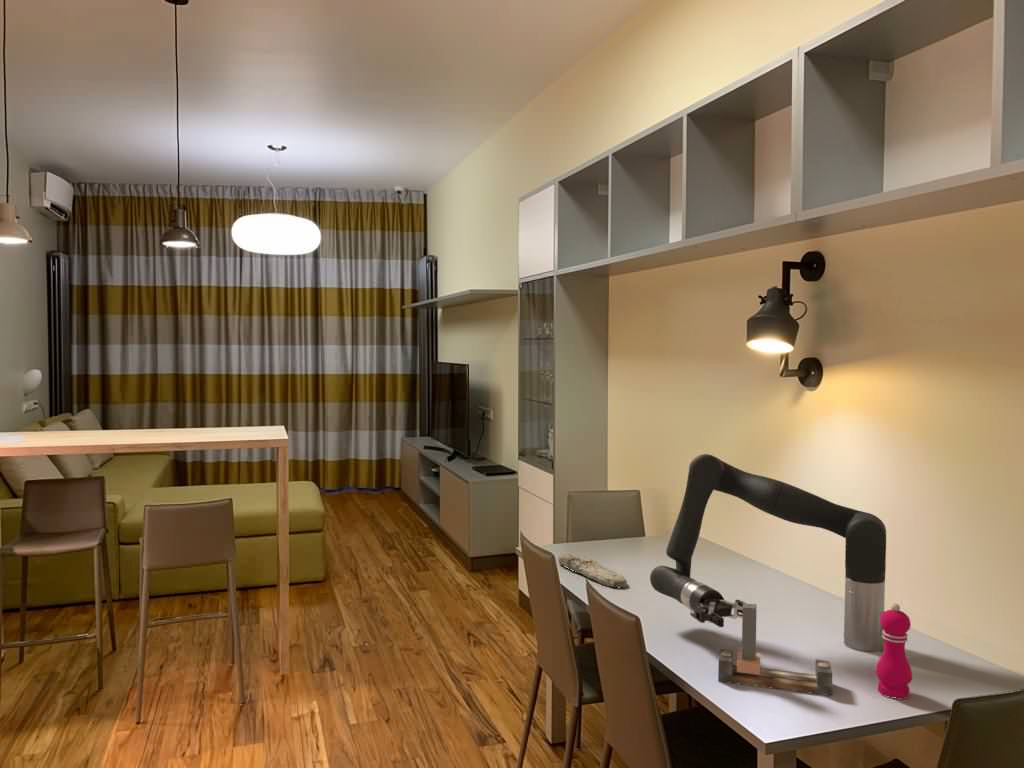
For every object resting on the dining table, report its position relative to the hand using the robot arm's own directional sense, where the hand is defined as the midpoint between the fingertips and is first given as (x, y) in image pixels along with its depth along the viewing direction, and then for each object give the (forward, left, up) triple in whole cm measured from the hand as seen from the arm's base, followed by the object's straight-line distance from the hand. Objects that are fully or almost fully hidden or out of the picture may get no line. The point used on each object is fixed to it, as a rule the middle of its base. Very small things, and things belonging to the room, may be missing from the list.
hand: (738, 621), depth 185 cm
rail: (-8, +3, -12) cm, 15 cm away
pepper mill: (-33, +1, -12) cm, 35 cm away
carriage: (-2, +3, -9) cm, 10 cm away
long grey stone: (+49, -66, -13) cm, 83 cm away
